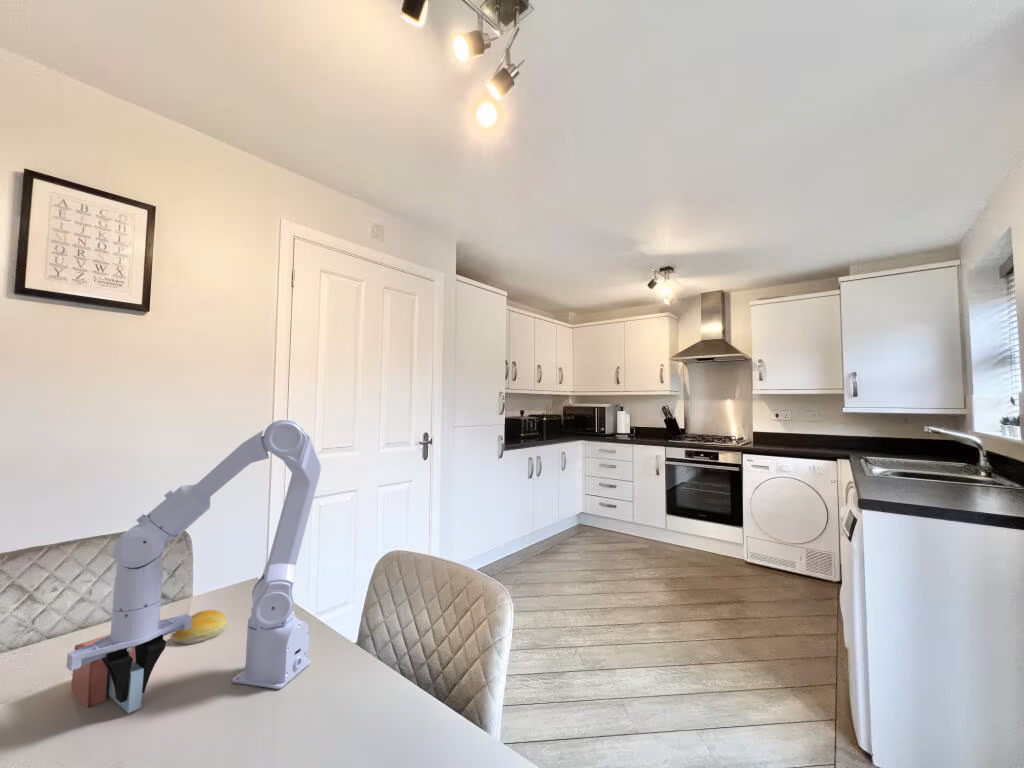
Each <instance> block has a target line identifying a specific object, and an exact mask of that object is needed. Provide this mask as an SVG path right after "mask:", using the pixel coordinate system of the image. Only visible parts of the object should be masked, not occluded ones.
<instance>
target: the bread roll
mask: <svg viewBox="0 0 1024 768" xmlns="http://www.w3.org/2000/svg"><path fill="white" fill-rule="evenodd" d="M191 616H192V625H191V628H190V629H187V630H183V629H182V630H179V631H176V632H174V635H173V639H174V641H175V642H176V643H178V644H183V643H184V644H183V645H193V644H192V643H195V644H198V643H197V642H199V643H202V642H201V641H203V642H206V641H208V640H207V639H209V640H211V639H213V638H215V636H216V637H217V636H219V635H220V634H222V633H223V631H224V629H225V628H226V627H227V624H228V621H227V617H226V615H225V614H224V612H223V613H222V612H221V611H219V610H215V609H214V610H213V609H208V610H207V609H206V610H202V611H198V612H197V613H195V614H192V615H191ZM210 638H211V639H210ZM205 640H206V641H205Z"/></svg>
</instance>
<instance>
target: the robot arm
mask: <svg viewBox="0 0 1024 768" xmlns="http://www.w3.org/2000/svg"><path fill="white" fill-rule="evenodd" d="M269 452H270V453H271V454H273V455H274V456H275V457H277V458H278V459H280V460H282V461H283V463H284V464H285V465H286V467H287V468H288V469H289V471H290V472H291V476H290V480H289V484H288V487H287V491H286V495H285V498H284V502H283V506H282V508H281V509H282V510H281V512H280V516H279V520H278V524H277V527H276V532H275V533H274V537H273V541H272V544H271V545H272V546H271V549H270V552H269V556H268V558H267V559H268V560H267V561H266V563H265V567H264V568H263V569H264V570H263V573H262V575H261V577H260V578H259V579H258V580H257V581H256V583H255V584H254V586H253V589H252V591H251V592H252V594H251V595H252V596H251V598H252V607H251V616H250V617H249V618H248V620H247V629H246V631H247V632H246V648H245V650H246V651H245V652H246V653H245V665H244V666H245V669H244V670H242V671H241V672H239V673H238V674H237V675H235V676H234V677H233V678H232V679H231V682H232V683H235V684H241V685H248V686H256V687H262V688H270V689H277V690H279V689H282V688H283V687H284V686H286V684H288V683H289V682H290V681H291V680H293V679H294V678H295V677H296V676H297V675H298V674H300V672H301V671H303V670H304V669H305V668H306V667H308V666H309V665H310V664H311V659H309V642H310V628H309V625H308V623H307V622H305V621H303V620H300V619H298V618H297V616H296V615H295V609H294V606H295V599H294V595H293V587H294V583H295V574H296V568H297V567H296V565H297V562H298V559H299V554H300V551H301V547H302V543H303V539H304V537H305V531H306V528H307V524H308V520H309V516H310V515H311V514H310V512H311V509H312V505H313V501H314V498H315V494H316V490H317V486H318V483H319V479H320V475H321V472H322V465H321V462H320V459H319V458H318V454H317V452H316V450H315V447H314V445H313V442H312V438H311V436H310V435H309V433H308V432H306V430H305V429H304V428H303V427H302V426H301V425H300V424H298V423H297V422H295V421H293V420H289V419H279V420H276V421H274V422H272V423H270V424H269V425H268V427H266V429H265V431H264V430H260V431H259V432H257V433H256V434H254V435H253V436H251V437H250V438H248V439H246V440H245V441H243V442H242V443H241V444H240V445H239V446H238V447H236V448H235V449H234V450H233V451H232V452H231V453H230V454H228V455H227V456H226V457H225V458H224V459H223V460H222V461H220V463H218V464H217V465H216V466H215V467H214V468H213V469H212V470H210V472H209V473H207V474H206V475H205V476H204V477H203V478H202V479H201V480H199V481H198V482H197V483H195V484H190V485H189V484H188V485H187V484H186V485H185V484H184V485H180V486H179V487H177V489H176V490H175V489H174V488H172V489H170V490H169V491H168V492H166V494H164V498H165V499H164V500H163V501H162V502H160V503H159V504H158V505H157V506H155V508H153V509H152V510H151V511H149V513H147V514H142V515H140V516H139V517H138V518H137V519H136V520H135V521H136V522H137V524H135V525H133V526H132V527H131V528H129V529H128V530H126V531H124V532H123V533H122V535H121V536H120V537H119V538H118V539H117V540H116V542H115V544H114V546H113V548H112V556H113V559H114V562H116V569H115V570H116V572H115V574H116V576H115V577H114V585H113V596H112V597H113V598H112V611H111V624H110V633H109V634H110V636H107V637H105V638H103V639H101V640H98V641H96V642H94V643H92V644H89V645H87V646H85V647H82V648H80V649H77V650H75V649H74V650H72V651H69V652H67V657H66V668H67V669H68V670H69V671H71V672H73V670H75V669H78V668H80V667H81V665H84V664H86V663H89V662H92V661H95V660H98V659H102V661H103V662H104V664H105V665H106V667H107V669H108V671H109V673H110V675H111V678H112V680H113V684H114V687H115V693H116V699H117V700H118V701H119V702H120V703H122V702H124V701H126V700H127V697H128V680H129V673H130V668H131V664H132V661H133V658H132V657H131V656H129V652H128V651H127V649H129V648H131V647H134V646H135V656H136V663H137V664H138V665H139V666H141V667H142V668H143V669H144V674H143V688H142V694H144V693H145V691H146V687H147V684H148V681H149V679H150V676H151V674H152V672H153V669H154V668H155V665H156V663H157V661H158V660H159V658H160V657H161V655H162V653H163V652H164V651H165V649H166V645H167V641H166V640H165V639H164V637H165V636H168V635H171V634H173V633H174V634H175V633H176V631H179V630H182V629H183V630H187V629H190V628H191V625H192V616H193V615H190V614H188V613H183V614H180V615H177V616H173V617H168V618H165V619H161V618H160V617H161V603H162V589H163V576H164V569H163V556H164V553H163V552H162V551H163V550H164V549H165V548H166V546H167V545H168V544H169V542H170V541H172V540H173V541H174V540H175V539H177V538H178V537H179V536H181V534H182V533H183V532H185V531H186V530H188V528H189V527H191V525H193V524H194V523H195V522H196V521H197V520H198V519H199V518H200V517H202V516H203V515H204V514H205V513H206V512H207V511H209V509H210V508H211V497H212V496H213V495H215V493H217V492H218V491H219V490H221V488H223V487H224V486H225V485H227V483H229V482H230V481H231V480H232V479H233V478H235V477H236V476H237V475H238V474H240V473H241V472H242V471H243V470H245V468H247V466H249V465H251V464H253V463H256V462H259V461H264V460H267V459H269V458H270V457H269V454H268V453H269Z"/></svg>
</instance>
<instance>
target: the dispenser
mask: <svg viewBox="0 0 1024 768" xmlns="http://www.w3.org/2000/svg"><path fill="white" fill-rule="evenodd" d="M110 634H111V633H109V634H106V635H103V636H100V637H97V638H95V639H91V640H88V641H84V642H82V643H78V644H75V646H74V651H75V650H77V649H80V648H82V647H85V646H87V645H89V644H92V643H94V642H96V641H98V640H101V639H103V638H105V637H107V636H110ZM127 651H128V652H129V656H131V657H132V658H133V661H134V662H135V663H136V656H135V646H134V647H131V648H129V649H127ZM107 674H108V669H107V667H106V665H105V664H104V662H103V661H102V659H98V660H95V661H92V662H89V663H86V664H84V665H81V667H80V668H78V669H75V670H72V677H71V688H70V690H71V692H72V693H73V694H74V695H75V696H76V697H77V698H78V699H79V700H80V701H81V702H82V703H83V704H84V706H86V707H87V708H91V707H92V706H95V705H99V704H100V703H102V702H105V701H106V698H107V693H106V687H107Z"/></svg>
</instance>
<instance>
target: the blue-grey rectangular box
mask: <svg viewBox="0 0 1024 768" xmlns="http://www.w3.org/2000/svg"><path fill="white" fill-rule="evenodd" d="M143 674H144V669H143V668H142V667H141V666H139V665H138V664H137V663H135V662H134V661H132V664H131V668H130V673H129V680H128V697H127V700H126V701H124V702H122V703H120V702H119V701H118V700H117V699H116V693H115V687H114V684H113V680H112V678H111V675H110V673H109V671H108V674H107V687H106V695H108V697H110V698H111V700H113V701H114V702H115V703H116V704H117V705H119V706H120V707H121V709H123V710H124V711H125V712H126V713H127V714H131V713H132V712H134V711H136V710H139V709H141V708H142V698H143V693H142V688H143Z"/></svg>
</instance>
